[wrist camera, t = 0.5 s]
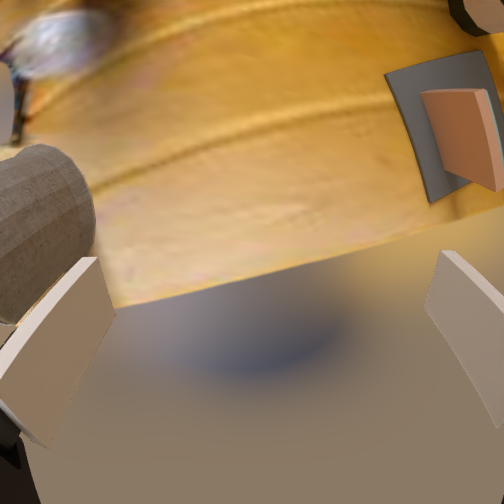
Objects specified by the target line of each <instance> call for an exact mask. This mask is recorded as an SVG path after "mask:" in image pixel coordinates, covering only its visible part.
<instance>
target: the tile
mask: <svg viewBox="0 0 504 504" xmlns="http://www.w3.org/2000/svg"><path fill="white" fill-rule="evenodd" d="M419 94H420V96H421V99H422V101H423V104H424V107H425V109H426V112H427V115H428V118H429V120H430V123H431V126H432V129H433V133H434V136H435V139H436V142H437V146H438V149H439V153H440V156H441V160H442V164H443V168H444V170H446V171H448V172H451V173H453V174H456V175H458V176H461V177H463V178H465V179H468V180H470V181H472V182H475V183H477V184H479V185H481V186H483V187H486V188H488V189H490V190H492V191H494V192H496V193H497V192H498V191H500V190H501V189H503V188H504V159H503V153H502V147H501V142H500V137H499V133H498V128H497V124H496V120H495V116H494V113H493V109H492V105H491V102H490V99H489V95H488V92H487V90H485V89H436V90H427V91H424V92H421V93H419Z"/></svg>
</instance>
